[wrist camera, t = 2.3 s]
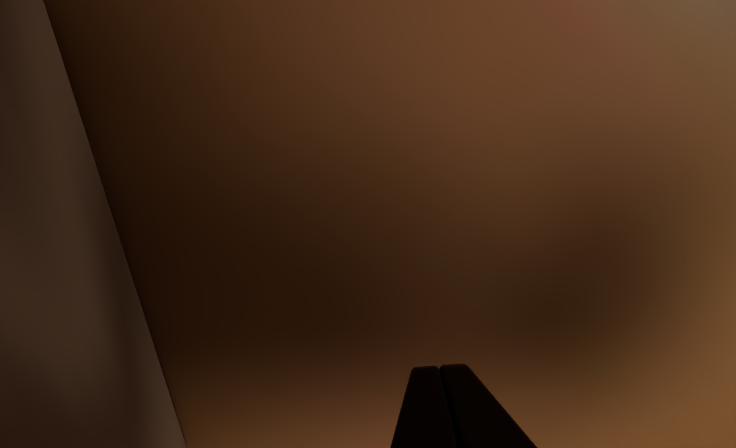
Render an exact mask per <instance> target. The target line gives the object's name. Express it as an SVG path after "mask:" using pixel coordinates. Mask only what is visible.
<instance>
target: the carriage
mask: <svg viewBox="0 0 736 448" xmlns="http://www.w3.org/2000/svg"><path fill="white" fill-rule="evenodd" d="M0 448H187V447H186V444H185V441H184V438H183V435H182V431H181V428H180V425H179V422H178V419H177V416H176V413H175V410H174V406H173V403H172V400H171V397H170V394H169V391H168V388H167V385H166V382H165V378H164V375H163V372H162V369H161V366H160V363H159V360H158V357H157V353H156V350H155V347H154V344H153V341H152V338H151V335H150V332H149V329H148V325H147V322H146V319H145V316H144V313H143V310H142V307H141V304H140V300H139V297H138V294H137V291H136V288H135V285H134V282H133V279H132V275H131V272H130V269H129V266H128V263H127V260H126V257H125V254H124V251H123V247H122V244H121V241H120V238H119V235H118V232H117V229H116V226H115V222H114V219H113V216H112V213H111V210H110V207H109V204H108V201H107V198H106V194H105V191H104V188H103V185H102V182H101V179H100V176H99V173H98V169H97V166H96V163H95V160H94V157H93V154H92V151H91V148H90V145H89V141H88V138H87V135H86V132H85V129H84V126H83V123H82V120H81V116H80V113H79V110H78V107H77V104H76V101H75V98H74V95H73V91H72V88H71V85H70V82H69V79H68V76H67V73H66V70H65V67H64V63H63V60H62V57H61V54H60V51H59V48H58V45H57V42H56V38H55V35H54V32H53V29H52V26H51V23H50V20H49V17H48V14H47V10H46V7H45V4H44V1H43V0H0Z"/></svg>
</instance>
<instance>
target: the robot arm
mask: <svg viewBox="0 0 736 448" xmlns="http://www.w3.org/2000/svg"><path fill="white" fill-rule="evenodd" d="M390 448H537V447H536V446H535V444H534V443H533V442H532V441H531V440H530V439H529V437H528V436H527V435H526V434H525V433H524V431H523V430H522V429H521V428H520V427H519V426H518V424H517V423H516V422H515V421H514V420H513V419H512V417H511V416H510V415H509V414H508V413H507V411H506V410H505V409H504V408H503V407H502V406H501V404H500V403H499V402H498V401H497V400H496V399H495V397H494V396H493V395H492V394H491V393H490V392H489V390H488V389H487V388H486V387H485V386H484V384H483V383H482V382H481V381H480V380H479V379H478V377H477V376H476V375H475V374H474V373H473V372H472V370H471V369H470V368H469V367H468V366H467V365H465V364H450V365H442V366H441V367H440V368H438V367H437V366H423V367H414V368H413V369H412V370H411V373H410V377H409V381H408V384H407V388H406V392H405V396H404V399H403V403H402V407H401V410H400V414H399V418H398V421H397V425H396V429H395V433H394V436H393V440H392V444H391V447H390Z"/></svg>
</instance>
